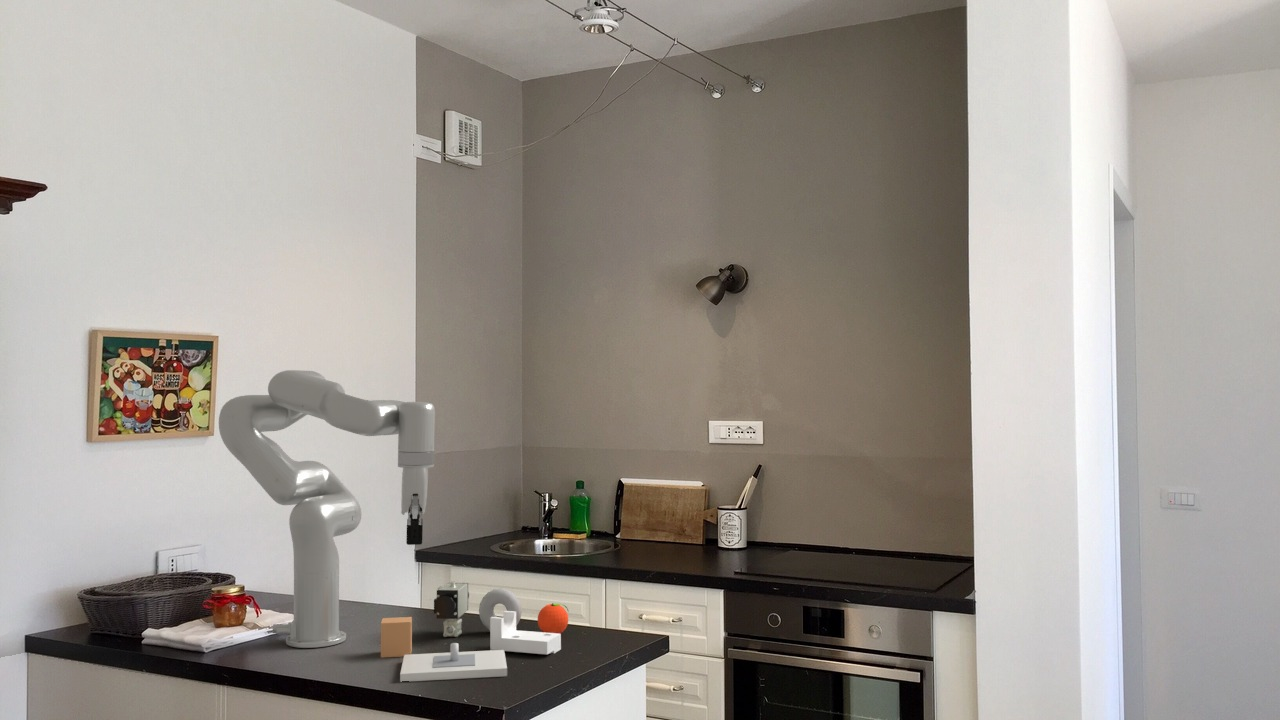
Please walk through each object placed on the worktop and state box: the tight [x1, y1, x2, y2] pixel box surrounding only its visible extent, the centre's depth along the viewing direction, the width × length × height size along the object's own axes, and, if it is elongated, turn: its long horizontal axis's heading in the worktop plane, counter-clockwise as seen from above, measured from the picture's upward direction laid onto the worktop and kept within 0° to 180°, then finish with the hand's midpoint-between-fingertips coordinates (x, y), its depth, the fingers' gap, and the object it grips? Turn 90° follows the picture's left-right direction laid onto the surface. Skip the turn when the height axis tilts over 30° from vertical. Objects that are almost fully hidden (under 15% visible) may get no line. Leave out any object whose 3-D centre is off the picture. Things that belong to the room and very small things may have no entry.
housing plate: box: [399, 642, 508, 683], centre depth 197 cm, size 20×14×5 cm
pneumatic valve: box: [433, 580, 470, 638], centre depth 224 cm, size 6×12×12 cm, turn 174°
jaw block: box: [380, 616, 413, 658], centre depth 209 cm, size 6×5×7 cm
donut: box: [478, 588, 522, 631], centre depth 226 cm, size 10×4×10 cm, turn 78°
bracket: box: [489, 610, 562, 655], centre depth 211 cm, size 13×7×8 cm, turn 71°
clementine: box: [537, 603, 570, 634], centre depth 224 cm, size 8×7×7 cm
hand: (414, 540), depth 212 cm, fingers open, 9 cm apart
